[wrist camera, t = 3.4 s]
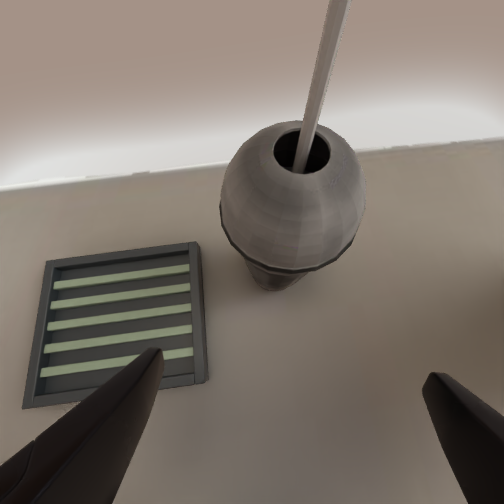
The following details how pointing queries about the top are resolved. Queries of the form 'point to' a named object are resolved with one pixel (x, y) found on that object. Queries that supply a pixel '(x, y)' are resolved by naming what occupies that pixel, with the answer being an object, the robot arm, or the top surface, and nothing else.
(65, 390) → the drying rack
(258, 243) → the beverage cup
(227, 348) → the top surface
